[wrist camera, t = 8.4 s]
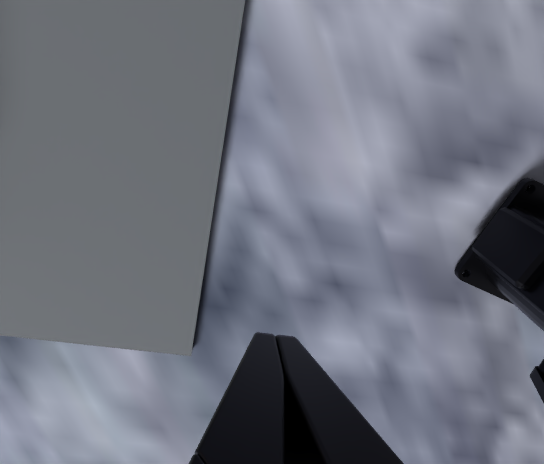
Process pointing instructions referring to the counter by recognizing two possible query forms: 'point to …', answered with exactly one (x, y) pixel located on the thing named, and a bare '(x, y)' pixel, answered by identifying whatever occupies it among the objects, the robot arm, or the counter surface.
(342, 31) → the counter surface
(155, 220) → the rubber mat
